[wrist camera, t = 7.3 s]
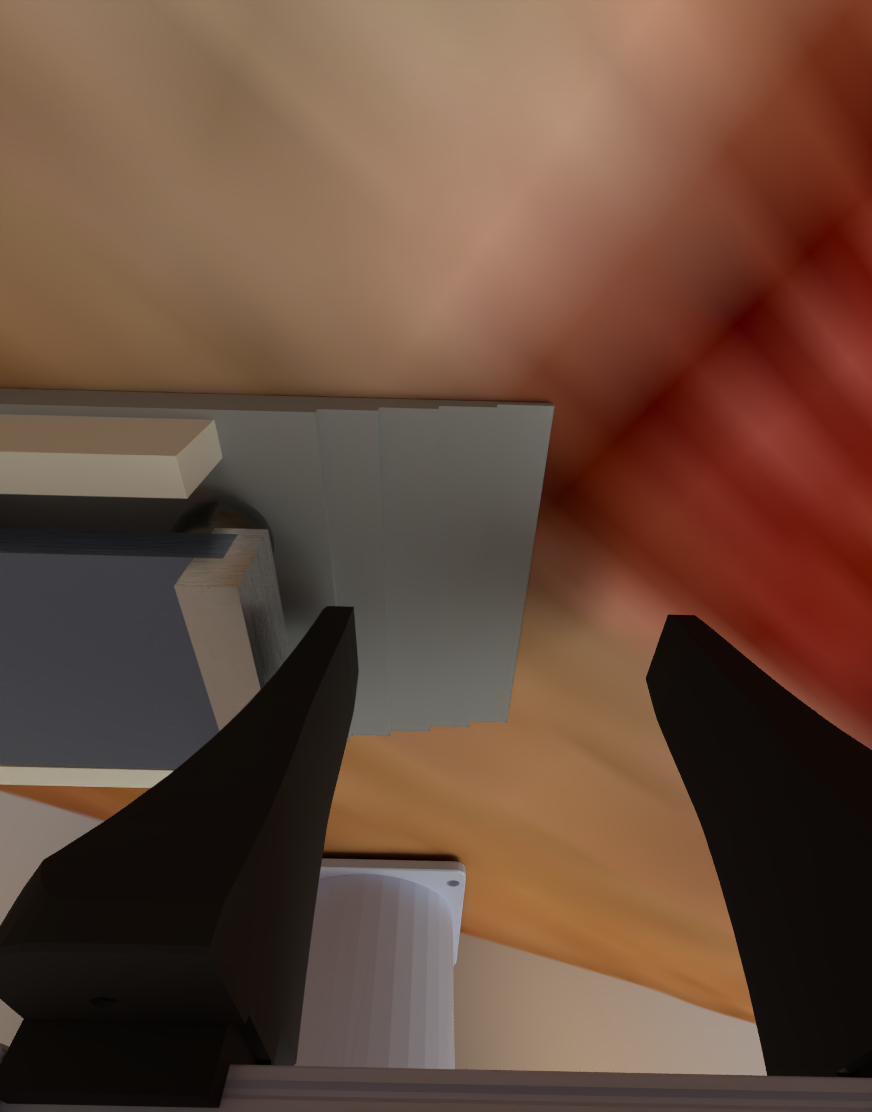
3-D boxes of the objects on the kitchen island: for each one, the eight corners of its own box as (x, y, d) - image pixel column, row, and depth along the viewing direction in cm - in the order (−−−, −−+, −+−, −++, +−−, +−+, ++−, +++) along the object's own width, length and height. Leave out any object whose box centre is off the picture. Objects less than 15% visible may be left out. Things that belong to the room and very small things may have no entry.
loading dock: (506, 717, 17) (520, 826, 14) (4, 705, 17) (-90, 812, 14) (552, 402, 11) (591, 473, 8) (-202, 382, 11) (-432, 446, 8)
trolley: (317, 691, 15) (286, 812, 12) (-1, 683, 15) (-111, 803, 12) (287, 482, 11) (232, 581, 8) (-134, 470, 11) (-339, 566, 8)
